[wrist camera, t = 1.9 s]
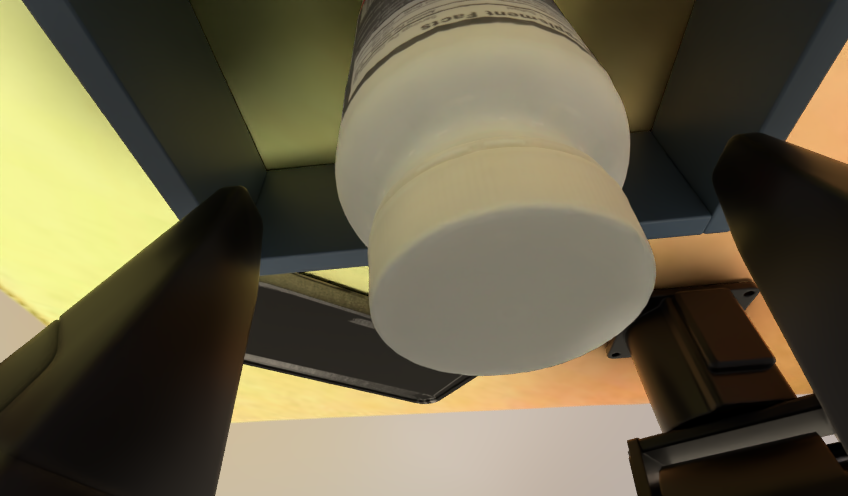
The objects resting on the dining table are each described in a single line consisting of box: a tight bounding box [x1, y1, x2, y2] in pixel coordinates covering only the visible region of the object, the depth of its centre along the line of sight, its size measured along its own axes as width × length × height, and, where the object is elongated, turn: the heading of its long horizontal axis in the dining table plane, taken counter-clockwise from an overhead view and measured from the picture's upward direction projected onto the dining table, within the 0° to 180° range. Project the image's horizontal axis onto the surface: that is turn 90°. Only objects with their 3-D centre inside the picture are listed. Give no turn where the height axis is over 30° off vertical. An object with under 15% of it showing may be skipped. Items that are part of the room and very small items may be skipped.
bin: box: [22, 0, 848, 276], centre depth 11 cm, size 10×16×4 cm, turn 95°
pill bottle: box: [335, 0, 656, 376], centre depth 9 cm, size 5×5×10 cm
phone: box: [243, 273, 477, 404], centre depth 24 cm, size 8×1×15 cm
